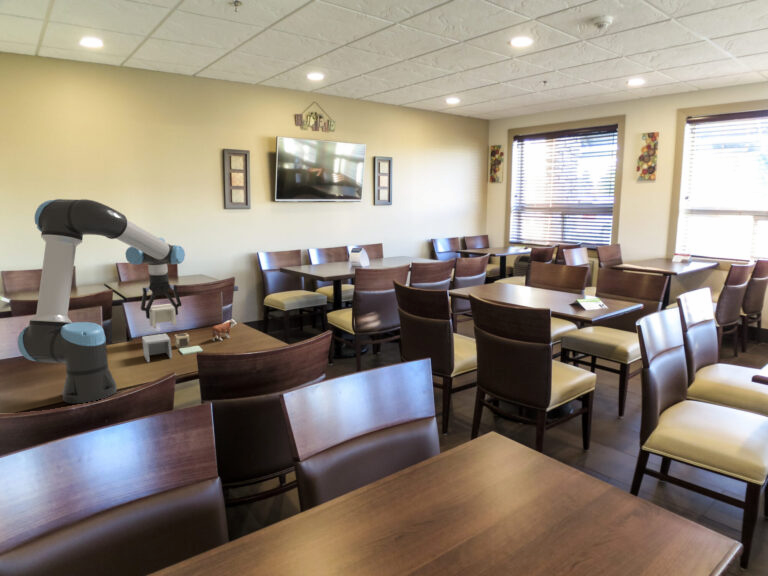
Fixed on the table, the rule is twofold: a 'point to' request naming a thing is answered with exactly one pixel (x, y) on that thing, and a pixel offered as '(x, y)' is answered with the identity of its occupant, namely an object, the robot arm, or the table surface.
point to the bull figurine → (223, 329)
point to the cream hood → (163, 314)
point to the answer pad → (190, 350)
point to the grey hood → (156, 345)
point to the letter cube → (182, 340)
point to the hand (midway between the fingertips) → (163, 323)
